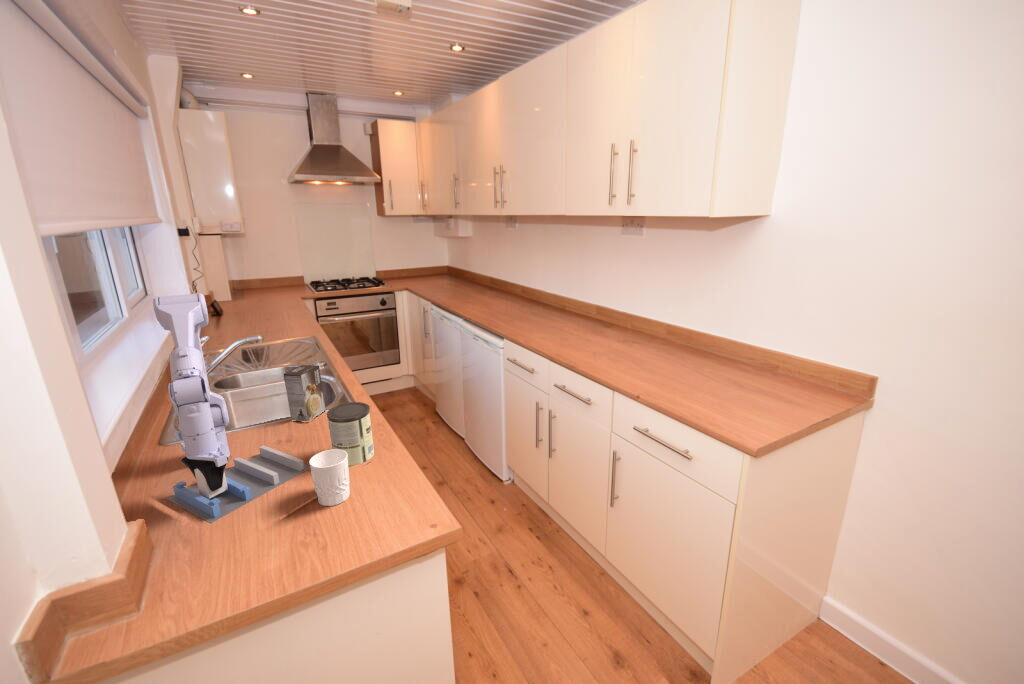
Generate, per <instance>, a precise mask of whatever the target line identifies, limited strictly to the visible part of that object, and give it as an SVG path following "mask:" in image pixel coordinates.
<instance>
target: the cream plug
mask: <svg viewBox="0 0 1024 684" xmlns="http://www.w3.org/2000/svg"><path fill="white" fill-rule="evenodd" d="M194 471H195V476H196V478H195V480H196V484H197V485H198V489H199V493H200V494H201V495H203V496H205V497H207V498H209V499H210V498H212V497H214V496H216V495H218V494H220V493H222V492H224V491H226V490H228V486H227V481H226V476H225V470H224V474H223V483H222V487H221V488H219V489H217V490H215V491H211V490H210V488H209V487H208V484H207V482H206V479H205V477H204V476H203V474H202V473H201V472H200V470H198V469H194Z"/></svg>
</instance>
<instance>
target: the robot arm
mask: <svg viewBox="0 0 1024 684" xmlns="http://www.w3.org/2000/svg"><path fill="white" fill-rule="evenodd" d="M206 302H207V301H206V297H205V294H202V292H198V293H188V294H179V295H178V294H177V295H167V296H158V295H157V296H155V297H154V298H153V299H152V304H153V312H154V315H155V319H156V320H157V322H158V323H159V325H160V327H162V328H163V329H164V330H165V331H170V332H171V336H172V340H173V344H174V345H173V346H174V350H172V351H171V352H170V354H169V367H170V368H169V369H170V379H171V382H169V383H168V385H167V388H168V396H169V400H170V402H171V404H172V407H173V409H174V413H175V416H177V418H178V422H179V427H180V431H181V434H182V439H183V442H180V448H181V451H182V452H183V453H184V454H185V456H184V457H182V459H181V462H182V464H183V465H185V466H186V467H187V468H188V469H189V470H190V472H191V473H192V475H193V477H194V478H195V479H196V476H195V471H194V469H198V470H200V472H201V473H202V474H203V476H204V477H205V479H206V482H207V484H208V487H209V488H210V490H211V491H215V490H217V489H219V488H221V487H222V483H223V474H224V471H225V470H226V467H227V466H226V465H227V464H228V462H229V457H230V456H231V452H230V447H229V442H228V438H227V433H226V427H227V426H228V425H229V424H230V419H229V417H230V416H229V412H228V406H227V403H226V401H225V398H224V397H223V396H222V395H221V394H219V393H215V392H213V391H211V388H210V384H209V379H208V373H207V367H206V362H205V358H204V353H203V352H204V351H203V347H202V342H201V338H200V337H201V330H202V328H204V327H206V326H208V325H209V322H210V321H209V314H208V308H207V307H208V306H207V303H206Z"/></svg>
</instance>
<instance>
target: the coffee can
mask: <svg viewBox="0 0 1024 684" xmlns="http://www.w3.org/2000/svg"><path fill="white" fill-rule="evenodd" d="M370 410H371V408H370V405H369V404H367V403H366V402H359V401H351V402H344V403H339V404H337V405H335V406H333V407H331V408H330V409H328V410H327V412H326V418H327V422H328V429H329V435H330V437H329V438H330V441H331V448H332V449H340V450H344V451H346V452H347V454H348V467H351V466H358V465H361V464H364V463H366V462H368V461H369V462H368V463H366V464H364V465H363V467H365V466H366V465H369V464H370V463H371V461H370V460H371V459H372V458H373V457H374V455H375V449H374V447H375V446H374V440H373V433H372V432H373V431H372V422H371V415H370V413H371V412H370ZM332 449H331V450H332Z"/></svg>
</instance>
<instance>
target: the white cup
mask: <svg viewBox="0 0 1024 684" xmlns="http://www.w3.org/2000/svg"><path fill="white" fill-rule="evenodd" d="M308 464H309V467H310V469H309V470H310V472H311V478H312V483H313V487H314V491H315V493H316V497H317V501H318V504H320V505H321V506H324V507H325V506H326V507H332V506H337V505H340V504H341V503H344V502H345V501H346V500H348V499H349V497H350V494H351V491H350V471H349V467H350V466H348V454H347V452H346V451H344V450H340V449H327V450H323V451H321V452H318V453H316V454H315V455H312V457H311V458H310V459H309V462H308Z"/></svg>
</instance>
